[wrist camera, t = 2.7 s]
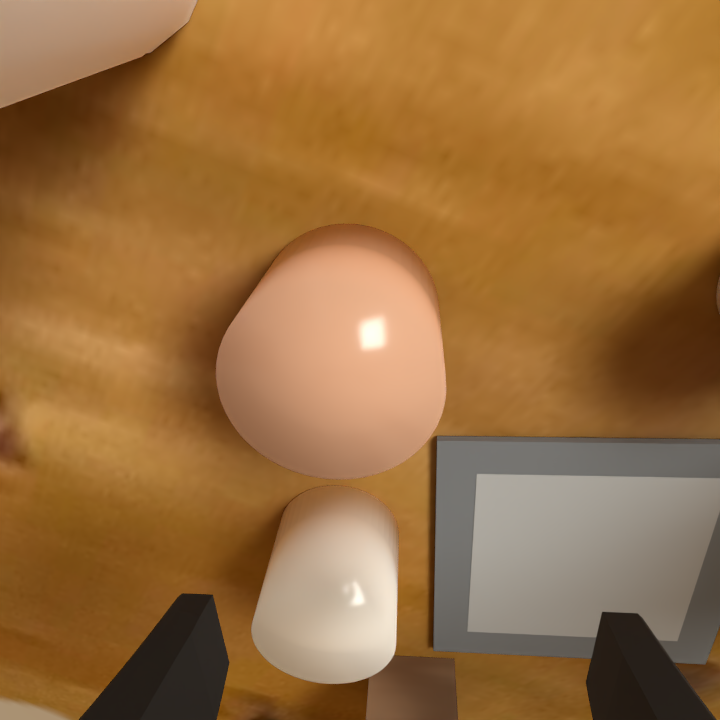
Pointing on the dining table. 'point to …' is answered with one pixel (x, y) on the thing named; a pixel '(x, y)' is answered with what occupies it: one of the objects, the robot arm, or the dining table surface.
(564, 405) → the dining table surface
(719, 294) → the cream rounded cylinder
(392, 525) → the cream rounded capsule
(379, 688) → the walnut block
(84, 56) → the foam cup
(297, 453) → the peach rounded blob
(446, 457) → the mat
